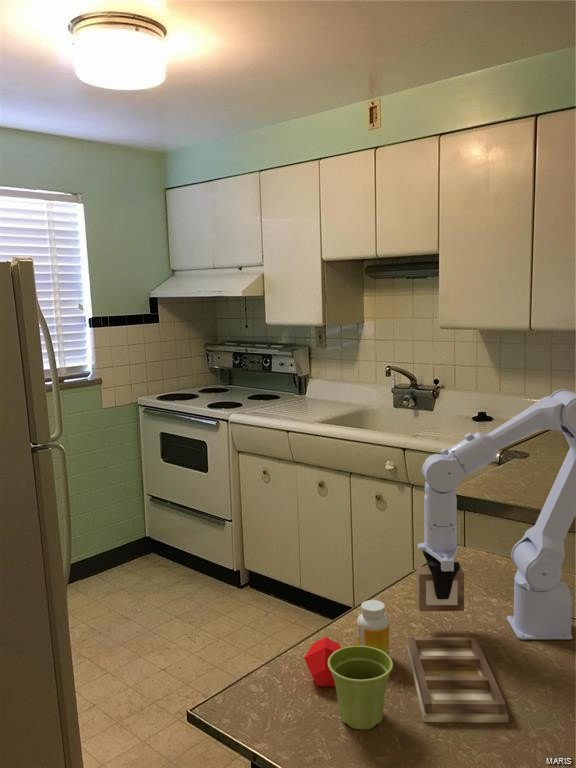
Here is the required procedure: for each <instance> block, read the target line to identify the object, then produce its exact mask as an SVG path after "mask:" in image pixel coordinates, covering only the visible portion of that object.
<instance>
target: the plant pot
mask: <svg viewBox="0 0 576 768" xmlns="http://www.w3.org/2000/svg"><path fill="white" fill-rule="evenodd" d="M393 663H394V662H393V660H392V658H391V657H390V654H389V655H388V654H386V653H385V652H383V651H382V650H380V649H377V648H373V647H369V646H357V645H351V646H350V645H349V646H345V647H341V649H338V650H337V651H335V652H333V653H332V654H331V655H330V657H329V658H328V667H329V669H330V671H331V672H332V676H333V678H334V681H335V686H334V687H335V691H336V696H337V697H336V699H337V702H338V704H337V705H338V709H339V710H338V711H339V714H340V715H339V716H340V719H341V721H342V722H343V723H344V724H347V726H349V727H350V728H351V729H355V730H356V729H357V730H370V729H373V728H374V727H375V726H376V725H377V724H381V722H382V720H383V714H384V708H385V707H384V706H385V697H386V690H387V684H388V682H387V681H388V679H389V678H390V673H391V672H392V671H393V668H394V667H393V666H394V664H393Z"/></svg>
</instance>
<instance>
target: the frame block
mask: <svg viewBox="0 0 576 768" xmlns="http://www.w3.org/2000/svg"><path fill="white" fill-rule="evenodd" d="M415 567H416V606H417V607H418V611H419V612H464V611H465V573H464V571H463V568H462V567H461V566H460V569H459V571H458V572H457V574H456V576H455V578H454V580H453V584H452V588H451V592H450V596H449V599H437V597H436V594H435V589H434V582H433V577H432V573H431V571H430V569H429V567H428V565H427V566H420V565H419V566H415Z"/></svg>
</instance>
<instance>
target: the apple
mask: <svg viewBox="0 0 576 768" xmlns="http://www.w3.org/2000/svg"><path fill="white" fill-rule="evenodd" d="M341 648H342V646H341V645H340V643H338V642H336V641H335V640H332V639H331V638H329V637H328V636H324V637H322V638H321V639H319V640H317V641H315V642H313V643H312V644H311V646H310V647H309V649H308V651H307V653H306V654H305V656H304V657H303V658H304V661H305V663H306V665H307V667H308V670H309V672H310V675H311V677H312V678H313V680H314V682H315V684H316V686H317V687H329V688H331V687H332V688H333V687H336V686H335V681H334V678H333V676H332V672H331V671H330V669H329V667H328V658H329V657H330V655H331V654H332V653H333V652H335V651H337V650H338V649H341Z"/></svg>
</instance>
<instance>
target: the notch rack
mask: <svg viewBox="0 0 576 768" xmlns="http://www.w3.org/2000/svg"><path fill="white" fill-rule="evenodd" d="M407 639H408V641H407V643H406V653H407V656H408V661H409V664H410V668H411V673H412V678H413V683H414V685H415V690H416V694H417V698H418V704H419V708H420V711H421V716H422V720H423V722H424V723H494V724H497V723H498V724H499V723H500V724H501V723H506V724H507V723H509V715H508V712H507V710H506V709H507V704H506V701H505V700H504V697H503V694H502V693H501V690H500V688H499V686H498V683H497V681H496V679H495V677H494V674H493V672H492V670H491V668H490V666H489V664H488V662H487V659H486V657H485V654H484V652H483V650H482V647H481V646H480V644H479V642H478V638H477V637H476V636H469V637H468V636H409V637H408V638H407Z"/></svg>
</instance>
